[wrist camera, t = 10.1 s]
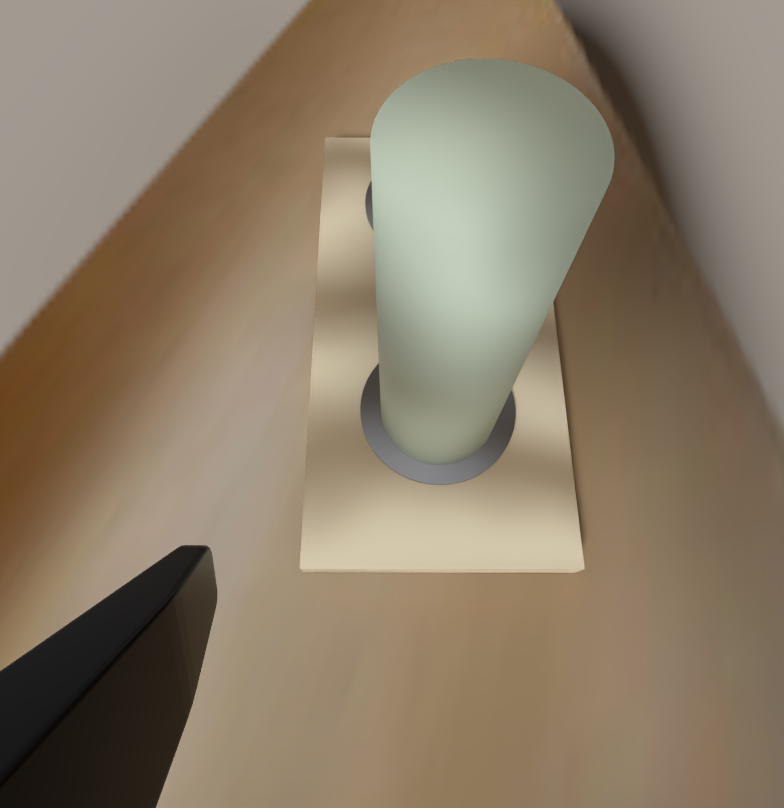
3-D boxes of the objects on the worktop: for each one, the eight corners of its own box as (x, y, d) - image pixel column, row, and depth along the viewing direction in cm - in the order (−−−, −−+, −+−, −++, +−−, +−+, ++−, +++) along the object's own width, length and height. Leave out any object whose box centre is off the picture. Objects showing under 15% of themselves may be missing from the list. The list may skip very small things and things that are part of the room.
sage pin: (514, 440, 22) (661, 198, 10) (406, 482, 22) (427, 278, 10) (465, 344, 24) (544, 35, 12) (364, 381, 23) (335, 94, 11)
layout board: (574, 572, 22) (643, 547, 16) (304, 572, 22) (272, 545, 16) (528, 157, 29) (563, 34, 23) (327, 156, 29) (311, 33, 23)
